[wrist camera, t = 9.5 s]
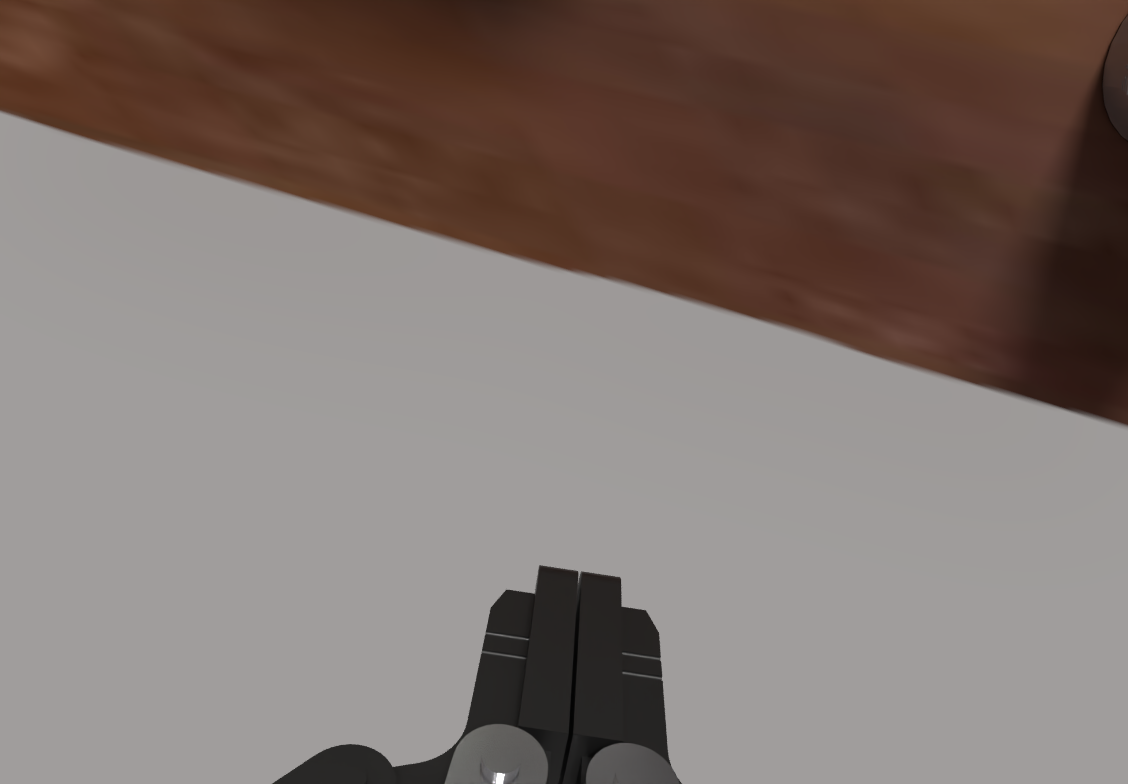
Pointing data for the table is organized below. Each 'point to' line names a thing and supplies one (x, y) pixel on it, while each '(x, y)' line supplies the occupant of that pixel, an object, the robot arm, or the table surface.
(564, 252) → the table surface
